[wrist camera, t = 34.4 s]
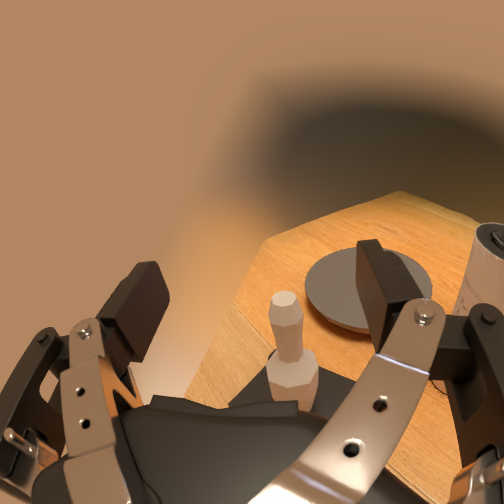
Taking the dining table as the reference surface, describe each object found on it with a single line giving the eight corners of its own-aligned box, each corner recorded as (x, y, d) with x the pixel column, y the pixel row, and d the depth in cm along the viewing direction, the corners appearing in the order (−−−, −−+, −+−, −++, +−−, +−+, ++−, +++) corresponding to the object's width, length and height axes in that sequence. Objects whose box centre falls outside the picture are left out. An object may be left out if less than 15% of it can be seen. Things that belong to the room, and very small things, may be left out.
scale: (229, 407, 39) (225, 399, 38) (283, 351, 48) (281, 341, 46) (313, 458, 29) (313, 452, 28) (362, 386, 38) (364, 376, 36)
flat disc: (280, 299, 61) (277, 283, 59) (358, 250, 72) (358, 236, 70) (379, 370, 39) (384, 354, 37) (446, 290, 51) (450, 274, 49)
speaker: (480, 395, 27) (554, 262, 15) (429, 399, 31) (492, 260, 19) (472, 349, 36) (519, 220, 23) (426, 350, 40) (463, 215, 27)
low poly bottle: (279, 389, 39) (258, 278, 29) (319, 391, 38) (319, 277, 27) (271, 423, 34) (242, 320, 23) (314, 426, 32) (315, 323, 22)
